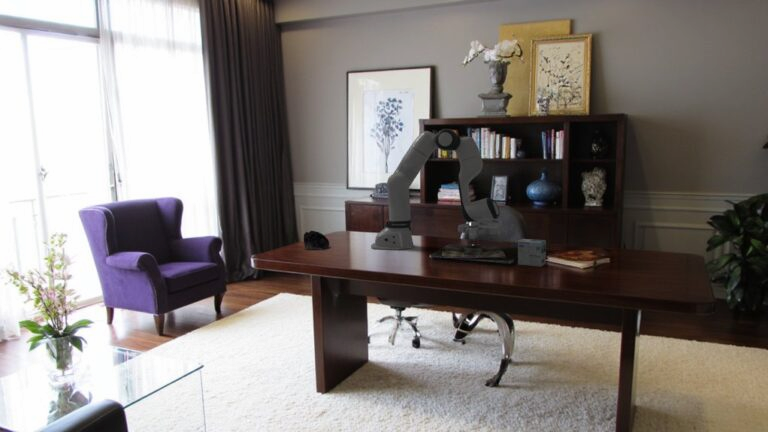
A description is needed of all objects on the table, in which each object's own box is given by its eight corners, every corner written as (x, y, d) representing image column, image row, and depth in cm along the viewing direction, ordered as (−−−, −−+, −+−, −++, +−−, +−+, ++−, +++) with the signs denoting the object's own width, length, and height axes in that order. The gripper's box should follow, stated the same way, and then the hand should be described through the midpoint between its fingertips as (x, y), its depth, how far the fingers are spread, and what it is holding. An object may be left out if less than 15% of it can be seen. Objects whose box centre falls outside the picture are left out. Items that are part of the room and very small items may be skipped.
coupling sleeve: (468, 244, 261) (468, 222, 259) (468, 242, 265) (468, 221, 264) (478, 243, 260) (478, 222, 259) (478, 242, 265) (478, 221, 263)
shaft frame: (442, 258, 260) (441, 247, 260) (442, 254, 270) (442, 243, 270) (505, 258, 257) (505, 247, 256) (503, 254, 266) (503, 243, 266)
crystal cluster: (334, 248, 296) (334, 229, 296) (315, 250, 285) (315, 231, 285) (317, 247, 304) (316, 229, 304) (298, 249, 294) (297, 231, 294)
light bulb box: (546, 264, 244) (546, 239, 243) (541, 267, 239) (541, 242, 237) (522, 261, 250) (522, 238, 249) (517, 264, 245) (517, 240, 243)
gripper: (464, 220, 278) (452, 224, 266) (503, 222, 267) (493, 226, 255) (464, 232, 279) (452, 237, 267) (503, 235, 268) (493, 239, 256)
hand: (472, 231), depth 261 cm, fingers closed on coupling sleeve, 4 cm apart
